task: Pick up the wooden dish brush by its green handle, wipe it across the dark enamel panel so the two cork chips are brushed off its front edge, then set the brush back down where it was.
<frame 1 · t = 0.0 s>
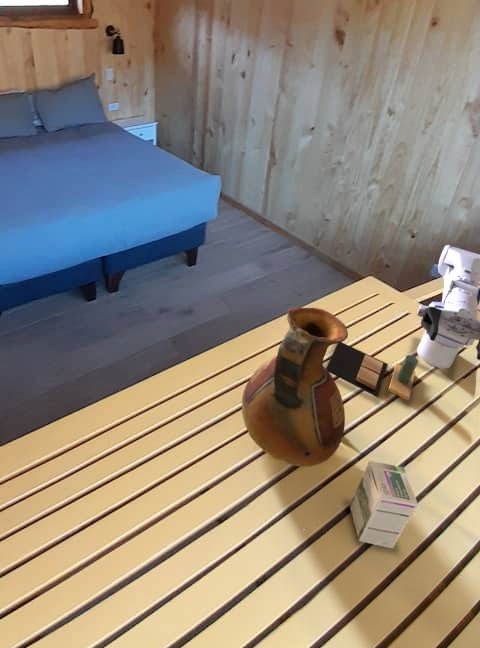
hand: (456, 346, 80), 22 cm above the table, tool horizontal, fingers open, 7 cm apart
ceramic pitcher: (285, 429, 88), on the table
enamel panel: (355, 371, 101), on the table
brush: (399, 386, 97), on the table
syrup box: (369, 526, 72), on the table
chip a: (371, 366, 100), point 1 cm above the table, touching enamel panel
chip b: (366, 379, 97), point 1 cm above the table, touching enamel panel
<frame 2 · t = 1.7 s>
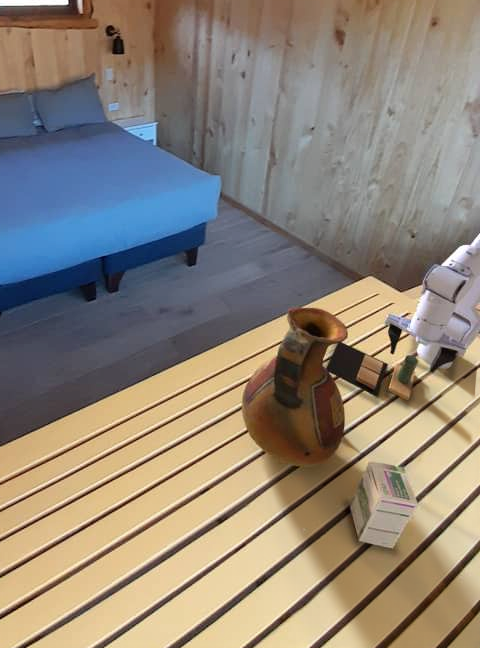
hand: (411, 360, 92), 9 cm above the table, tool pointing down, fingers open, 7 cm apart
nothing on the table moved.
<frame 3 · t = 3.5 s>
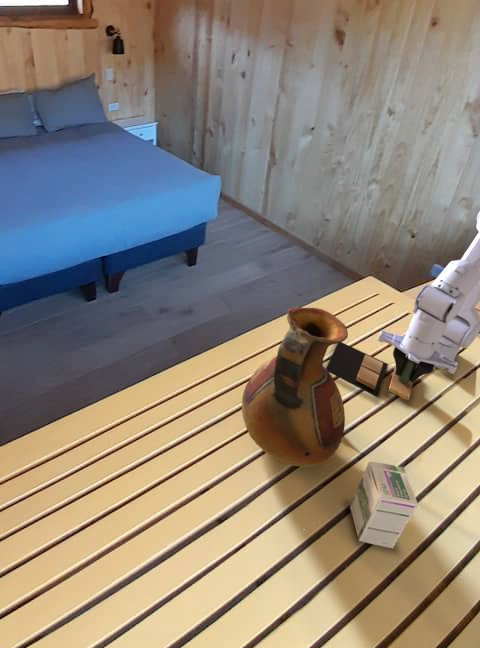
hand: (404, 375, 95), 4 cm above the table, tool pointing down, fingers closed on brush, 2 cm apart
brush: (399, 386, 97), on the table, touching gripper
everything else where it was.
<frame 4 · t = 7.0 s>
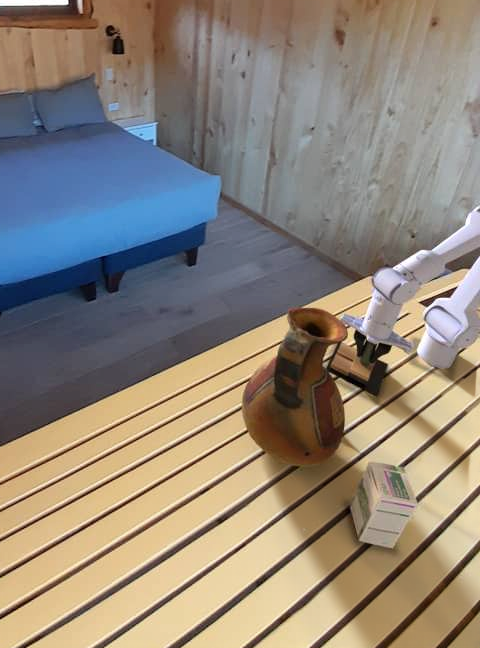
hand: (365, 357, 97), 6 cm above the table, tool pointing down, fingers closed on brush, 2 cm apart
brush: (361, 368, 99), point 2 cm above the table, touching gripper
chip a: (346, 354, 103), point 2 cm above the table, touching enamel panel
chip b: (341, 366, 100), point 2 cm above the table, touching enamel panel
everything else where it was.
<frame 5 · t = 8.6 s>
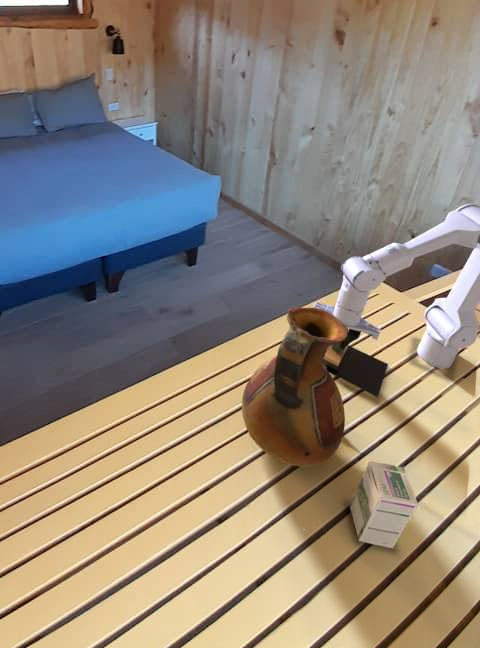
hand: (337, 344, 101), 6 cm above the table, tool pointing down, fingers closed on brush, 2 cm apart
brush: (333, 355, 103), point 2 cm above the table, touching gripper
chip a: (324, 347, 107), on the table
chip b: (316, 358, 104), on the table
everything else where it was.
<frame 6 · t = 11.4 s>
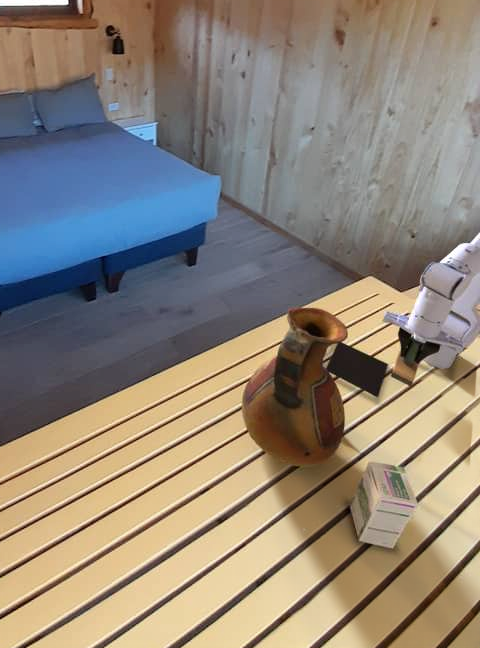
hand: (409, 357, 92), 10 cm above the table, tool pointing down, fingers closed on brush, 2 cm apart
brush: (404, 369, 94), point 6 cm above the table, touching gripper
everything else where it was.
when the fingers open (4 cm above the table, at t = 13.2 s): brush stays where it is, on the table.
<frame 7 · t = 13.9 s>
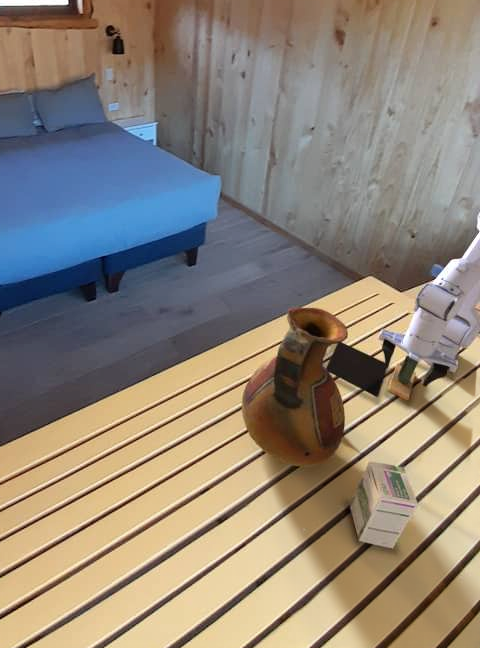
hand: (405, 374, 95), 4 cm above the table, tool pointing down, fingers open, 7 cm apart
brush: (399, 386, 97), on the table
everything else where it was.
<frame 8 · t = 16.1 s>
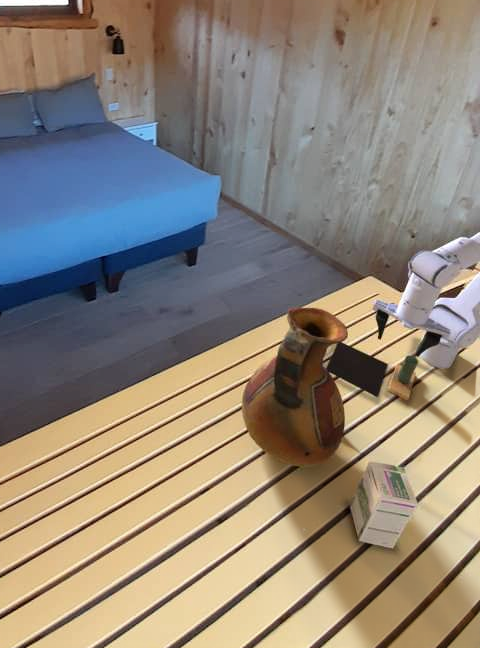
hand: (398, 344, 95), 10 cm above the table, tool pointing down, fingers open, 7 cm apart
nothing on the table moved.
at the end: chip a inside the target area (5.0 cm from its centre), on the table; chip b inside the target area (5.5 cm from its centre), on the table; brush inside the target area (0.1 cm from its centre), on the table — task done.
